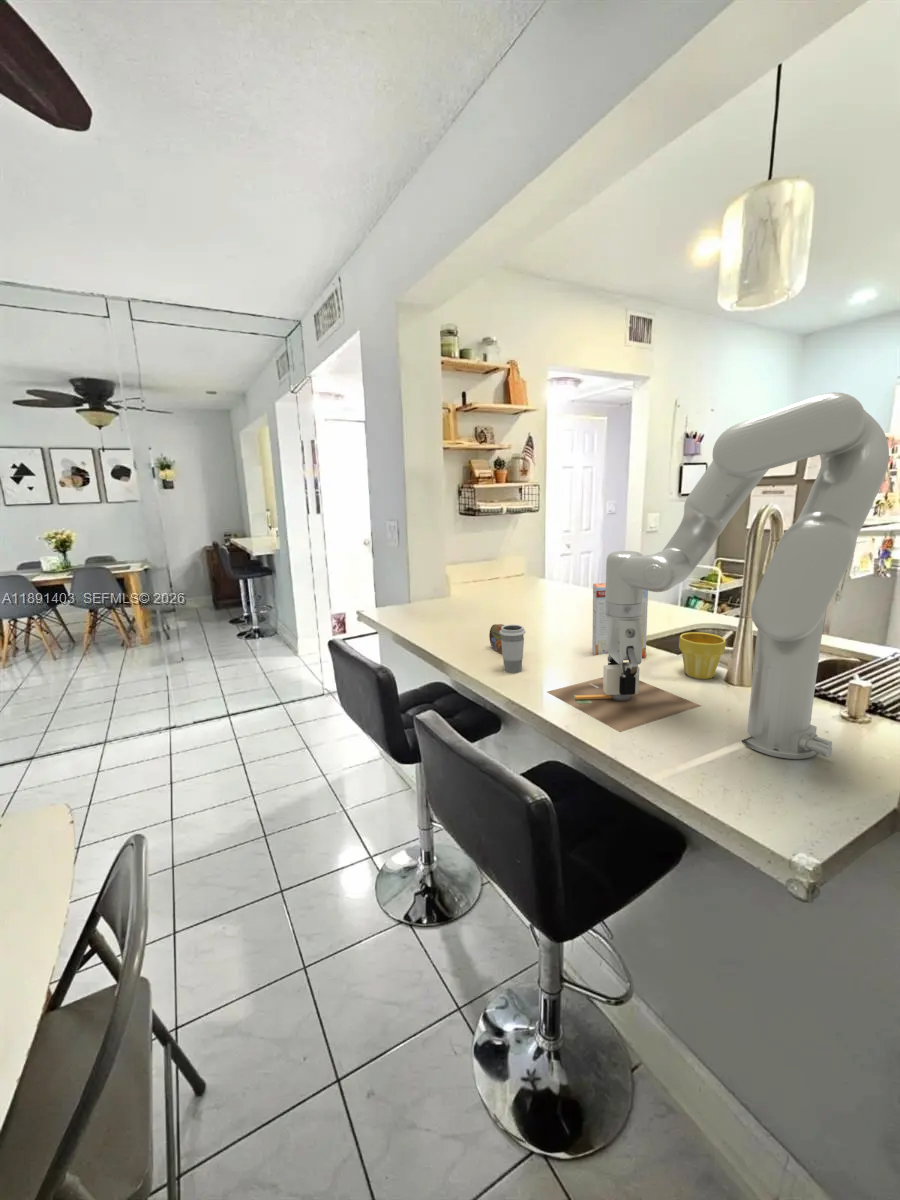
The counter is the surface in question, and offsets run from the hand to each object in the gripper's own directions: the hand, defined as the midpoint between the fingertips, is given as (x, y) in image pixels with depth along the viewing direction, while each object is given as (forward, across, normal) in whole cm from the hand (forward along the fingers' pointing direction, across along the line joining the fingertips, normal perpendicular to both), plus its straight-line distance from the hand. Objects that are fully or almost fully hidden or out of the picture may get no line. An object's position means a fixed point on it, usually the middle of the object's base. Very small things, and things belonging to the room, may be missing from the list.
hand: (620, 686), depth 111 cm
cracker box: (+5, +33, -10) cm, 35 cm away
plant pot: (+5, +16, -25) cm, 31 cm away
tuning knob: (+3, 0, +3) cm, 4 cm away
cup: (+5, +24, +21) cm, 32 cm away
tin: (+5, +38, +22) cm, 44 cm away
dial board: (+4, 0, 0) cm, 4 cm away
